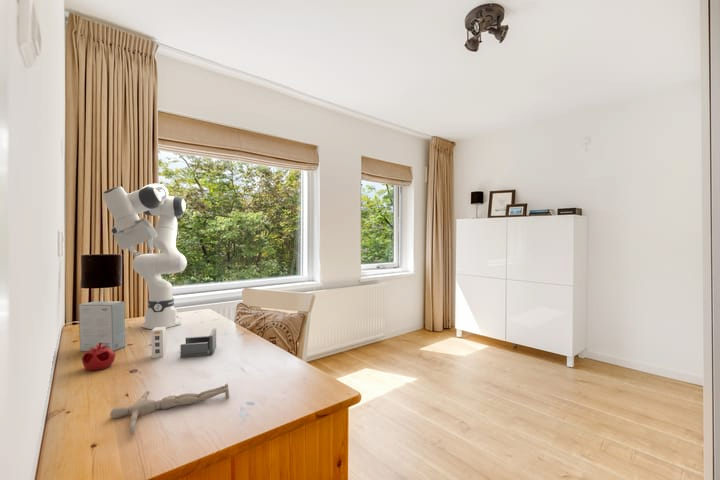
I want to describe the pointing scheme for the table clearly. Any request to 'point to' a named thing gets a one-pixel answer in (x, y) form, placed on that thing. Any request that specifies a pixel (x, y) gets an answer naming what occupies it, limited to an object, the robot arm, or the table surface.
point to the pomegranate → (98, 358)
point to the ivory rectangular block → (158, 342)
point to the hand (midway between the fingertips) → (144, 253)
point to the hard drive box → (102, 325)
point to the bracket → (199, 345)
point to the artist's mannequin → (164, 404)
